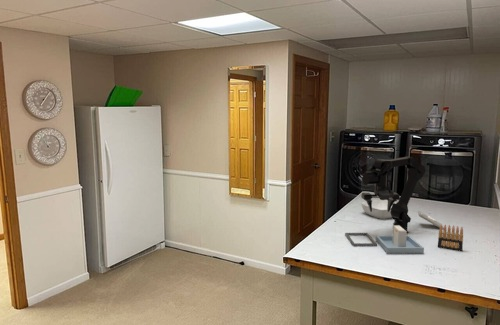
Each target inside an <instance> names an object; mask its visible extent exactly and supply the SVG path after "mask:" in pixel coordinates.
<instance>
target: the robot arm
mask: <svg viewBox="0 0 500 325" xmlns="http://www.w3.org/2000/svg"><path fill="white" fill-rule="evenodd" d="M402 166H403V167H404V166H405V168H406V169H407V180H406V181H405V182H406V183H405V185H404V188H403V190H402V192H401V195H400V194H398V193H397V192H394V190H391V189H389V190H388V185H387V182H388V176H389V175H391V172H389V171H390V170H391V169H393V168H397V167H402ZM426 171H427V170H426V167H425V166H424V165H423V164H422V163H421V162H419V161H418V160H416V159H415V158H414V157H412V156H404V157H398V158H391V159H381V158H379V159H378V158H377V159H376V160H375V161H374V163H373V164H372V166H371V168H370V169H369V171H364V174H363V175H362V177H361V182H362V184H364V185H365V186H370V185H374V192H373V193H372V194H371V193H370V192H362V193H361V199H363V200H364V202H366V201H367V203H368V206H369V209H370V212H372V200H373V199H374V198H375V199H379V200H388V206H387V210H388V212H389V211H390V210H391V211H390V213H391V216H392V220H394V221H393V223H392V226H393V225H400V226H401V227H402V228H403V229H404V230H406V231H407V234H409V231H408V225H409V223H410V222H411V219H412V218H411V217H410V216H409V214H408V213H409V207H408V205H409V202H410V200H411V198H412V195H413V192H414V190H415V188H416V186H417V183H418V182H419V180H421V179H422V178H423V177H424V175H425V173H426ZM395 203H396V204H395ZM392 204H393V205H392ZM391 206H392V208H391Z"/></svg>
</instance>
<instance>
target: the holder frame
mask: <svg viewBox="0 0 500 325" xmlns="http://www.w3.org/2000/svg"><path fill="white" fill-rule="evenodd" d="M344 235H345V237H346V239H347V240H348V242H349V243H350V244H351V245H352V247H378V243H377V242H376V240H374V238H372V236H371V235H370V233H368V232H345V233H344ZM352 236H361V237H363V236H366V238H367V239H368V240H369V241H370V242H371V243H370V242H369V243H368V242H367V243H366V242H365V243H364V242H362V243H360V242H358V243H356V242H354V241H353V239H352V238H351V237H352Z"/></svg>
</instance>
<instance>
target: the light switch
mask: <svg viewBox="0 0 500 325" xmlns="http://www.w3.org/2000/svg"><path fill="white" fill-rule="evenodd" d="M417 214H418V217H420V218H422V219H423V220H425V221H427V222H428V223H430V224H432V225H434V226H436V227H437V228H438V229H440V225H441V224H442V223H440V222H439V221H437V220H436V219H435V218H433V217H432V216H429V215H427V214H425V213H423V212H421V211H420V210H418V211H417ZM443 230H444V225H442V231H443Z"/></svg>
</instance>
